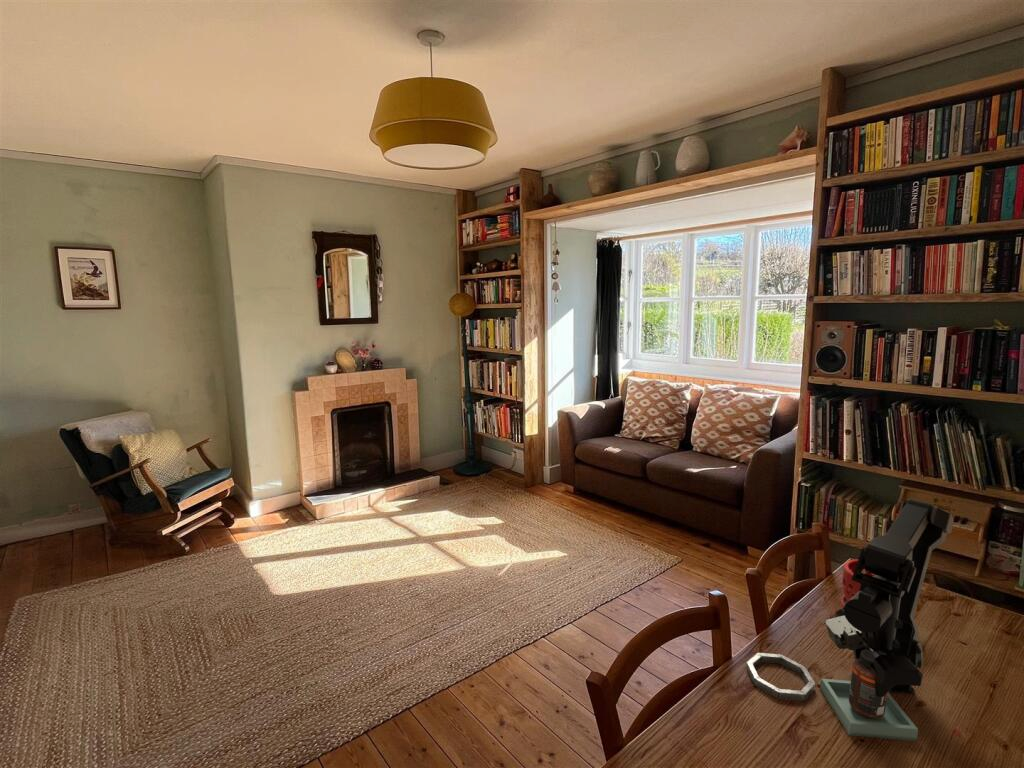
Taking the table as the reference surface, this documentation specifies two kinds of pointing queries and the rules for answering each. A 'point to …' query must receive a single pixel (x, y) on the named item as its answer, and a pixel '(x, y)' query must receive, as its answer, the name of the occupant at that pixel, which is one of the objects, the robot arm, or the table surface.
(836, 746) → the table surface
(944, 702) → the table surface
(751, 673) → the holder ring
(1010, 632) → the table surface
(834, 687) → the tray
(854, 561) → the plant pot
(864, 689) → the supplement bottle
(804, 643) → the table surface
